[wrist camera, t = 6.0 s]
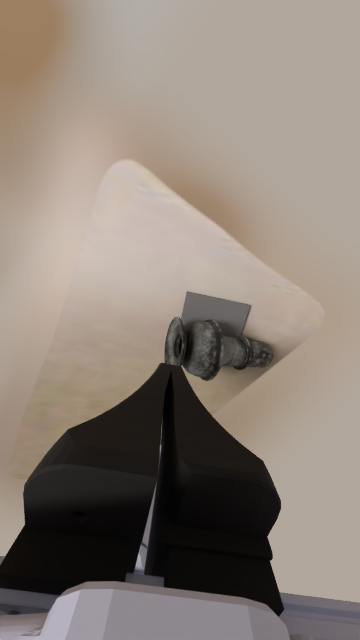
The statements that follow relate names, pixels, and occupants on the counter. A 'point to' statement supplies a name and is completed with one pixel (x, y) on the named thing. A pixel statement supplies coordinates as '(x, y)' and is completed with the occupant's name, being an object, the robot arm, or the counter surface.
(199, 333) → the dark grey chess piece
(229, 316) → the charcoal mat
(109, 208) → the counter surface
